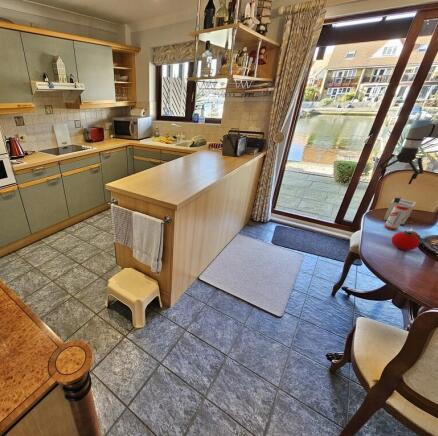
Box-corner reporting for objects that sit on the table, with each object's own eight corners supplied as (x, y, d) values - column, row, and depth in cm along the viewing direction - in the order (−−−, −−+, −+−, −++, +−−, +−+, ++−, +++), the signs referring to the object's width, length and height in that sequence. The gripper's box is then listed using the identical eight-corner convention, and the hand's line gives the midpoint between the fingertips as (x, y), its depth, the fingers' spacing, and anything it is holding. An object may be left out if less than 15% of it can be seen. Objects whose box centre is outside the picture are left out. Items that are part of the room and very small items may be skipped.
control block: (422, 241, 139) (425, 235, 137) (419, 246, 135) (423, 240, 133) (398, 235, 146) (401, 229, 144) (395, 239, 142) (398, 233, 140)
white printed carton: (407, 220, 163) (416, 202, 157) (403, 225, 156) (412, 207, 151) (387, 215, 170) (395, 197, 165) (382, 220, 164) (390, 202, 158)
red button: (417, 235, 138) (418, 232, 138) (415, 237, 136) (417, 235, 135) (407, 232, 141) (408, 230, 141) (405, 234, 139) (407, 232, 138)
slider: (399, 202, 158) (401, 197, 156) (398, 202, 156) (400, 198, 155) (394, 201, 159) (396, 196, 158) (393, 201, 158) (395, 197, 157)
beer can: (393, 227, 155) (406, 204, 147) (399, 232, 149) (412, 208, 142) (381, 225, 156) (393, 202, 149) (386, 230, 151) (399, 206, 144)
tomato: (383, 243, 138) (391, 227, 133) (399, 242, 139) (408, 227, 134) (401, 254, 128) (411, 238, 124) (419, 253, 129) (429, 237, 125)
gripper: (381, 145, 154) (368, 177, 164) (439, 151, 136) (420, 187, 145) (385, 143, 158) (372, 175, 168) (441, 149, 140) (423, 185, 149)
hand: (394, 181), depth 156 cm, fingers open, 13 cm apart
